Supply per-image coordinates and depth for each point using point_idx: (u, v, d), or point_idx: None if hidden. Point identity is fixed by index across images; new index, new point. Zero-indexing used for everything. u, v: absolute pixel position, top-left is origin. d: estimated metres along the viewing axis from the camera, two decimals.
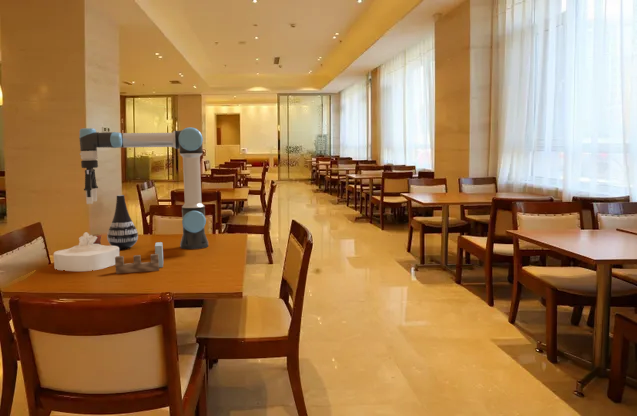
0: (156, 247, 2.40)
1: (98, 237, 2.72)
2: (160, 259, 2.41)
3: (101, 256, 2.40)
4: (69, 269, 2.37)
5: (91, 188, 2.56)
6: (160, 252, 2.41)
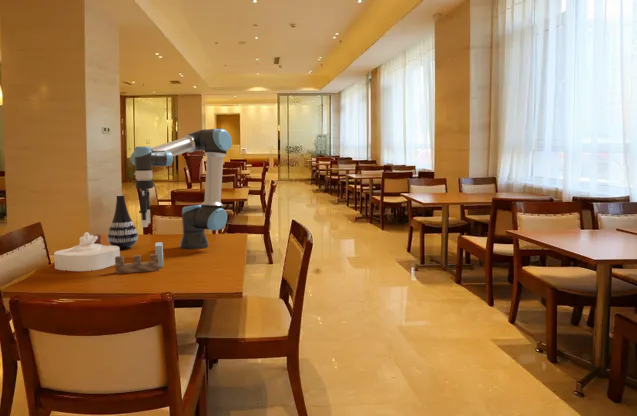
0: (156, 247, 2.40)
1: (98, 237, 2.72)
2: (160, 259, 2.41)
3: (102, 256, 2.40)
4: (70, 269, 2.37)
5: (146, 210, 2.40)
6: (160, 252, 2.41)
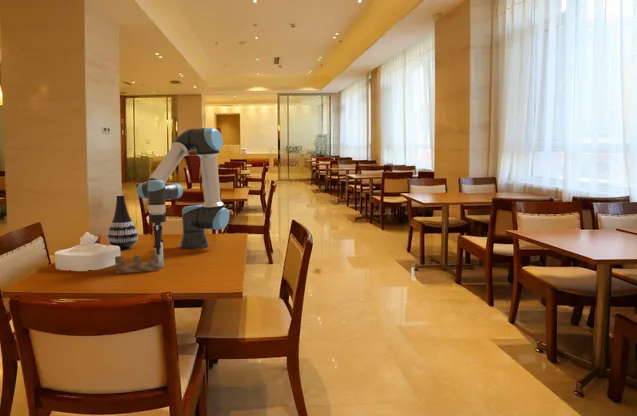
0: None
1: None
2: None
3: (102, 256, 2.41)
4: (70, 269, 2.38)
5: (160, 245, 2.38)
6: None
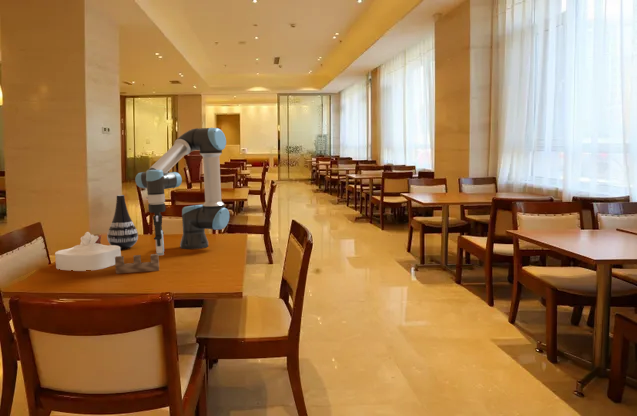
0: None
1: None
2: None
3: (103, 256, 2.41)
4: (71, 269, 2.38)
5: None
6: None
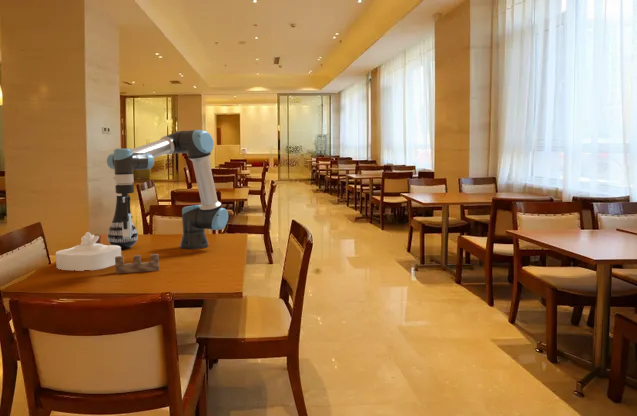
0: None
1: None
2: None
3: (104, 255, 2.41)
4: (72, 268, 2.38)
5: None
6: None
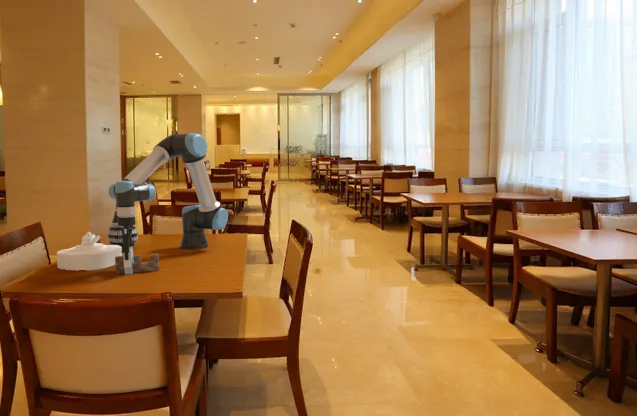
0: None
1: None
2: None
3: (105, 255, 2.42)
4: (73, 268, 2.39)
5: (129, 250, 2.26)
6: None
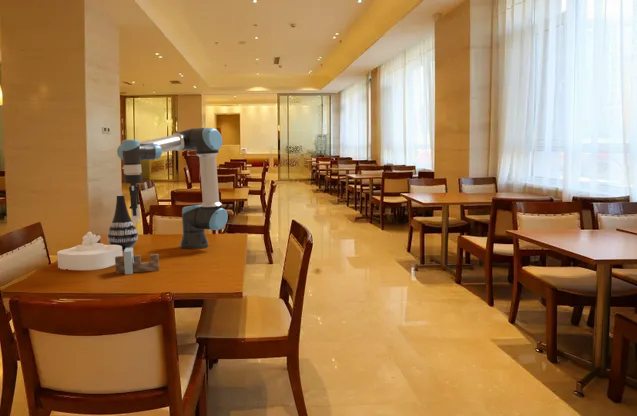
0: (125, 253, 2.27)
1: None
2: (129, 265, 2.28)
3: (106, 255, 2.43)
4: (74, 268, 2.39)
5: (137, 206, 2.32)
6: (129, 258, 2.28)
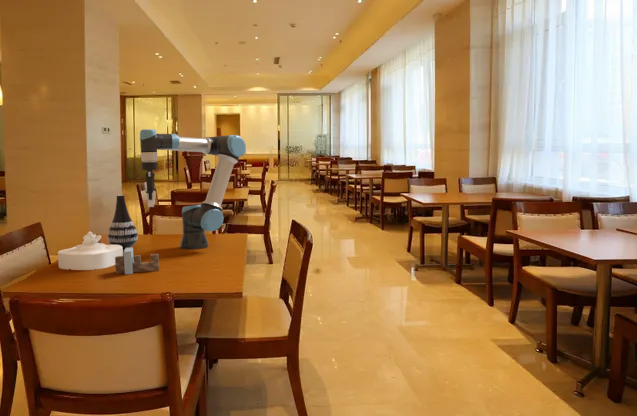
0: (125, 253, 2.27)
1: None
2: (129, 265, 2.28)
3: (106, 255, 2.43)
4: (75, 268, 2.39)
5: (152, 191, 2.50)
6: (129, 258, 2.28)
